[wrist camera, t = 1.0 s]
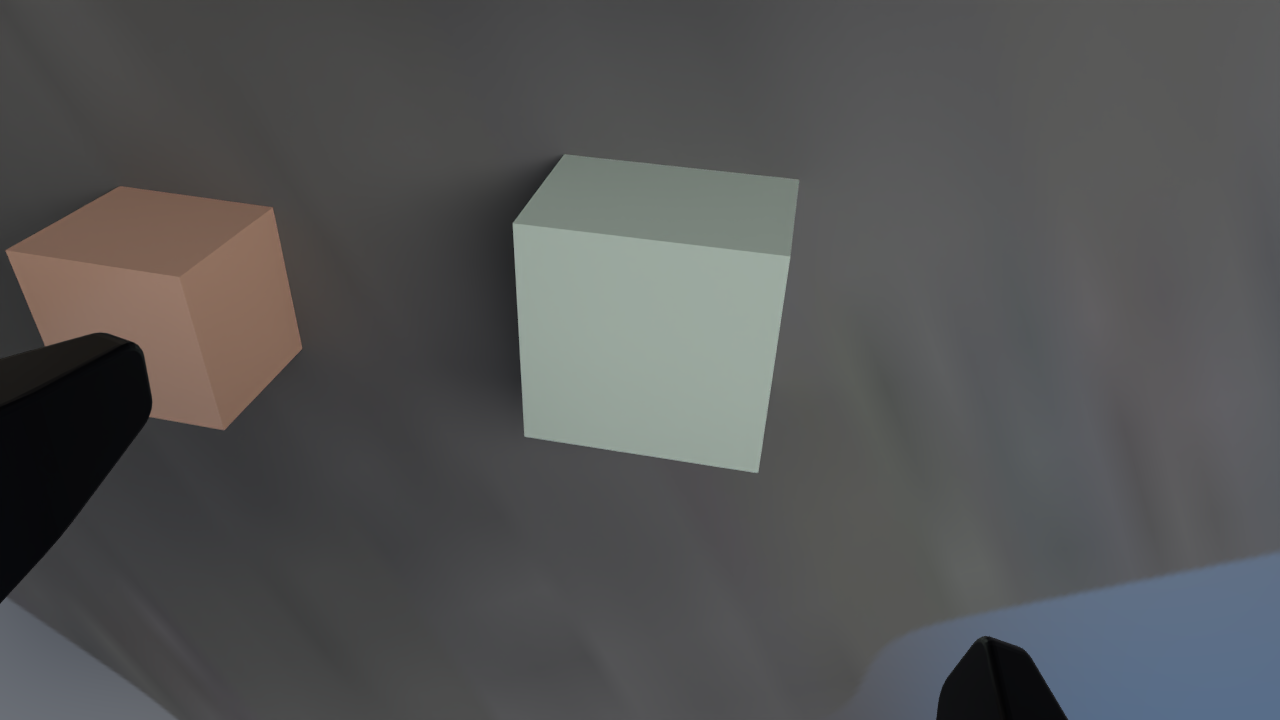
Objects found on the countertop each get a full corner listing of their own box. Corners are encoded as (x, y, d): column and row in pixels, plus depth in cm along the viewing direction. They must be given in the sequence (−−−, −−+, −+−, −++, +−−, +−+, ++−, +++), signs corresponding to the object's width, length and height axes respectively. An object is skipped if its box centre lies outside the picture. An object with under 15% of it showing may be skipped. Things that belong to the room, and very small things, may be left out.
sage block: (568, 345, 23) (524, 436, 20) (565, 151, 20) (512, 223, 17) (770, 373, 23) (757, 473, 19) (799, 177, 20) (790, 256, 16)
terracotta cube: (166, 324, 26) (68, 402, 23) (122, 184, 23) (5, 250, 20) (304, 346, 25) (223, 430, 22) (274, 206, 23) (179, 277, 20)
